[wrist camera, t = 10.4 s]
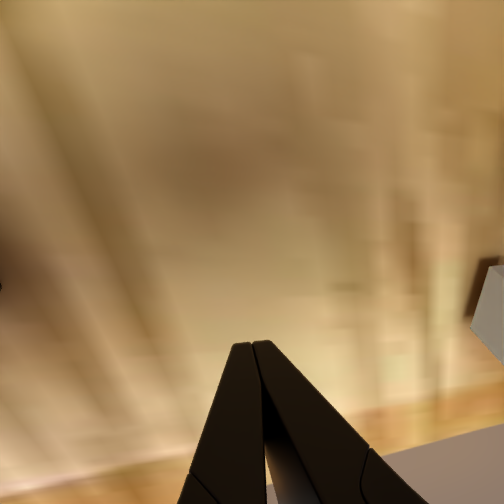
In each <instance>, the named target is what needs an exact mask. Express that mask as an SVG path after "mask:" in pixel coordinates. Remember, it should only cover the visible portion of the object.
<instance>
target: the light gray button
mask: <svg viewBox="0 0 504 504" xmlns="http://www.w3.org/2000/svg"><path fill="white" fill-rule="evenodd" d="M470 329H471V330H472V331H473V332H474V333H475V335H476V336H477V337H478V338H479V339H480V340H481V341H482V342H483V343H484V345H485V346H486V347H487V348H488V349H489V350H490V351H491V352H492V353H493V354H494V356H495V357H496V358H497V359H498V360H499V361H500V362H501V363H502V364H503V365H504V265H497V266H489V269H488V273H487V276H486V279H485V282H484V285H483V288H482V292H481V295H480V298H479V301H478V304H477V308H476V311H475V314H474V317H473V320H472V323H471V327H470Z"/></svg>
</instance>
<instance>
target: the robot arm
mask: <svg viewBox="0 0 504 504" xmlns="http://www.w3.org/2000/svg"><path fill="white" fill-rule="evenodd" d="M1 289H2V285H1V284H0V291H1ZM265 456H266V459H267V463H268V467H269V471H270V474H271V478H272V482H273V485H274V489H275V493H276V496H277V500H278V504H429V503H427V502H426V501H425V500H424V499H423V498H422V497H421V496H420V495H419V494H417V493H416V492H415V491H414V490H413V489H412V488H411V487H410V486H409V485H408V484H406V482H405V481H404V480H403V479H402V478H401V477H400V476H399V475H398V474H397V473H396V472H395V471H393V469H392V468H391V467H390V466H389V465H388V464H387V463H386V462H385V461H384V460H383V459H382V458H381V457H380V456H379V455H378V454H377V453H376V452H375V450H374V449H373V448H370V449H369V444H368V443H367V442H366V441H365V440H364V439H363V438H362V437H361V436H360V435H359V434H358V433H357V432H356V430H355V429H354V428H353V427H352V426H351V425H350V424H349V423H348V422H347V421H346V420H345V419H344V418H343V417H342V416H341V415H340V413H339V412H338V411H337V410H336V409H335V408H334V407H333V406H332V405H331V404H330V403H329V402H328V401H327V400H326V399H325V398H324V396H323V395H322V394H321V393H320V392H319V391H318V390H317V389H316V388H315V387H314V386H313V385H312V384H311V383H310V382H309V381H308V380H307V378H306V377H305V376H304V375H303V374H302V373H301V372H300V371H299V370H298V369H297V368H296V367H295V366H294V365H293V364H292V363H291V361H290V360H289V359H288V358H287V357H286V356H285V355H284V354H283V353H282V352H281V351H280V350H279V349H278V348H277V347H276V346H275V344H274V343H273V342H272V341H270V340H262V341H254V342H253V343H252V344H251V343H250V342H243V343H235V344H233V346H232V348H231V351H230V354H229V356H228V359H227V362H226V365H225V368H224V371H223V374H222V377H221V380H220V382H219V385H218V388H217V391H216V394H215V397H214V400H213V403H212V406H211V408H210V411H209V414H208V417H207V420H206V423H205V426H204V429H203V432H202V434H201V437H200V440H199V443H198V446H197V449H196V452H195V455H194V457H193V460H192V463H191V466H190V469H189V474H188V475H187V477H186V480H185V483H184V486H183V489H182V491H181V494H180V497H179V499H178V502H177V504H267V493H266V469H265Z"/></svg>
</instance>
